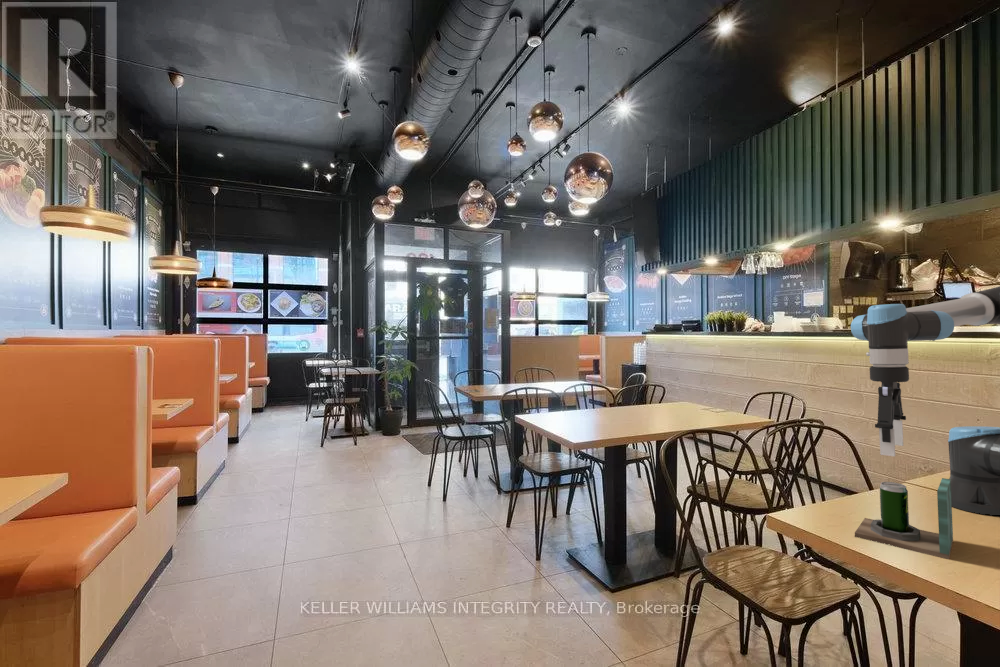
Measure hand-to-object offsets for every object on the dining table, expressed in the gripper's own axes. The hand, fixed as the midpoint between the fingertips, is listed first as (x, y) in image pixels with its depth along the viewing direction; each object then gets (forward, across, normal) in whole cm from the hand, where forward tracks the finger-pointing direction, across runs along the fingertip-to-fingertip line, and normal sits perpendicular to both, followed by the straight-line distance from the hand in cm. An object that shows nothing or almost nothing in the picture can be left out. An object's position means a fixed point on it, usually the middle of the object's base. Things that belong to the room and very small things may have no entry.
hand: (892, 450), depth 114 cm
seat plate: (+22, 0, +1) cm, 22 cm away
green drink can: (+21, 0, 0) cm, 21 cm away
